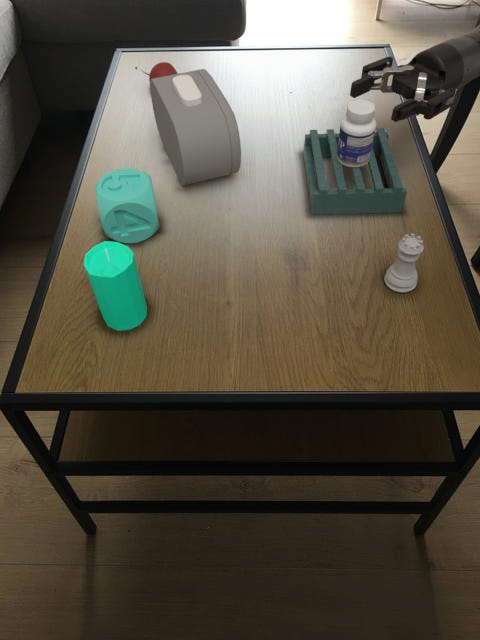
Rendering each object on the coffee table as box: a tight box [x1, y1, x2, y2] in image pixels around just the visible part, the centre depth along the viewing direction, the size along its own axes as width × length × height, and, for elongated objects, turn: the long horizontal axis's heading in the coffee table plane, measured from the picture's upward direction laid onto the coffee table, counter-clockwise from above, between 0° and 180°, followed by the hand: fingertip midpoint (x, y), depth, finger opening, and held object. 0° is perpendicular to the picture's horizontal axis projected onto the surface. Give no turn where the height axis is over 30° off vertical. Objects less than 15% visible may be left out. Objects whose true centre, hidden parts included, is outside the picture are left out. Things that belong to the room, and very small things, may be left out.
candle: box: [83, 240, 148, 332], centre depth 68 cm, size 6×6×12 cm
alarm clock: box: [149, 68, 242, 186], centre depth 89 cm, size 21×10×13 cm, turn 19°
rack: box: [303, 127, 408, 216], centre depth 87 cm, size 14×16×5 cm
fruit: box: [134, 61, 179, 82], centre depth 107 cm, size 6×6×8 cm
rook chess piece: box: [383, 233, 425, 294], centre depth 72 cm, size 4×4×8 cm
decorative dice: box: [95, 167, 160, 244], centre depth 81 cm, size 8×8×8 cm
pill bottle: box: [337, 99, 377, 168], centre depth 82 cm, size 5×5×9 cm
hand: (372, 102), depth 80 cm, fingers open, 8 cm apart
